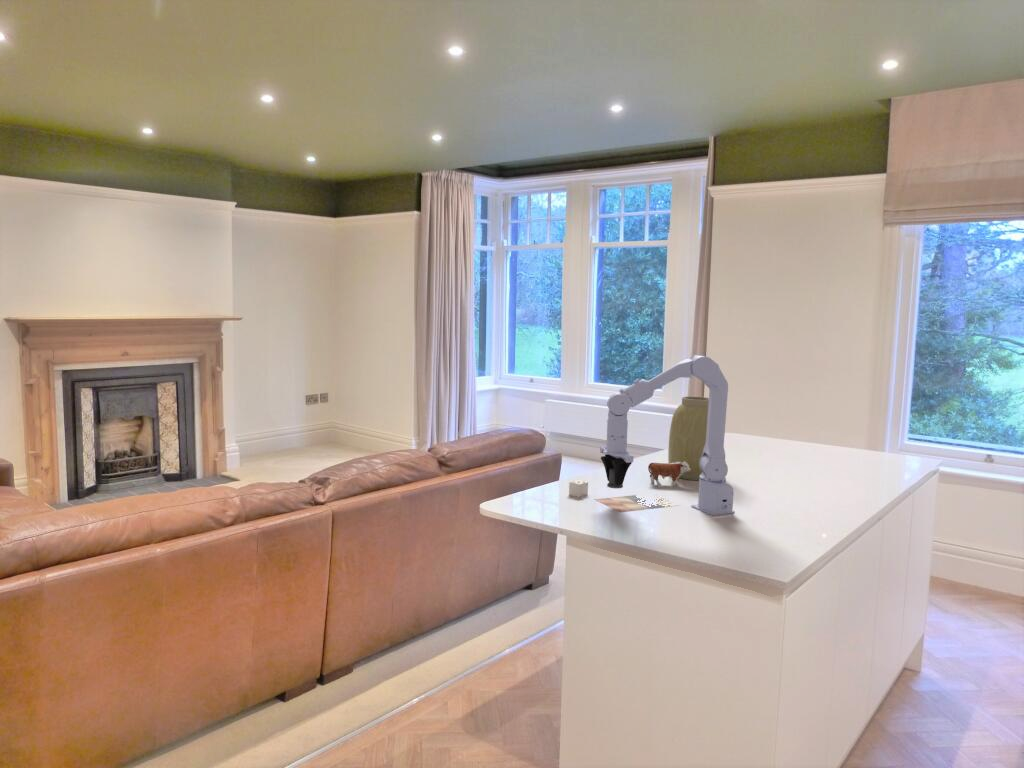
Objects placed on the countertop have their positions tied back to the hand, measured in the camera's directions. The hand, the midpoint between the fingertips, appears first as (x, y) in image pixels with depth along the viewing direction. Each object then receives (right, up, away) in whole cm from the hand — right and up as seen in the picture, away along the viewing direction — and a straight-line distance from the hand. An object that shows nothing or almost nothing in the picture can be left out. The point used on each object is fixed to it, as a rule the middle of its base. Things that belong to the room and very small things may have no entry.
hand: (615, 482), depth 202 cm
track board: (+7, -7, +4) cm, 10 cm away
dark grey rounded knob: (0, -1, 0) cm, 1 cm away
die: (-9, -6, +12) cm, 16 cm away
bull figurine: (+21, -5, +27) cm, 34 cm away
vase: (+33, -4, +40) cm, 52 cm away
